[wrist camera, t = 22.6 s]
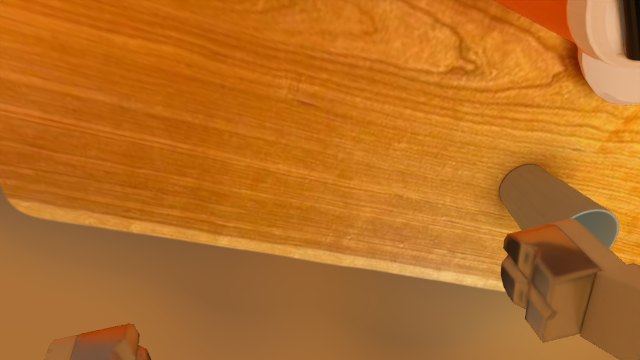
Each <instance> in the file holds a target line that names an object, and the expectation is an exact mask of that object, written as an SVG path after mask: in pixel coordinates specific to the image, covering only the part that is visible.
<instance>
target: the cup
mask: <svg viewBox="0 0 640 360" xmlns="http://www.w3.org/2000/svg"><path fill="white" fill-rule="evenodd" d="M499 193H500V198H501V200H502V202H503V203H504V205H505V206H506V208H507V209H508V211H509V212H510V214H511V215H512V217H513V218H514V219H515V221H516V222H517V224H518V225H519V227H520V228H521V230H526V229H530V228H534V227H538V226H542V225H546V224H550V223H554V222H558V221H562V220H566V219H570V218H572V219H575V220H577V221H579V222H580V223H581V224H582V225H583V226H584V227H585V228H587V229H588V230H589V231H590V232H591V233H592V234H593V235H594V236H595V237H596V238H598V239H599V240H600V241H601V242H602V243H603V244H604V245H605V246H606V247H608V248H609V249H610V248H611V247H612V246H613V244H614V242H615V240H616V238H617V236H618V232H619V222H618V219H617V217H616V216H615V215H614V214H613V213H612V212H610V211H609V210H607V209H606V208H604V207H603V206H601V205H599V204H598V203H596V202H594V201H593V200H591V199H590V198H588V197H586V196H585V195H583V194H582V193H580V192H579V191H577V190H575V189H574V188H572V187H571V186H569V185H568V184H566V183H564V182H563V181H561V180H560V179H558V178H556V177H555V176H553V175H552V174H550V173H549V172H547V171H545V170H544V169H542V168H541V167H539V166H536V165H530V164H529V165H523V166H520V167H518V168H516V169H514V170H513V171H511V172H510V173H509V174H508V175H507V176H506V177H505V179H504V180H503V182H502V184H501V186H500V191H499Z"/></svg>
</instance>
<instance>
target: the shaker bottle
mask: <svg viewBox="0 0 640 360" xmlns="http://www.w3.org/2000/svg"><path fill="white" fill-rule="evenodd" d="M494 1H496V2H498V3H500V4H501V5H503V6H505V7H507V8H509V9H511V10H513V11H515V12H517V13H518V14H520V15H522V16H524V17H526V18H528V19H530V20H532V21H533V22H535V23H537V24H539V25H541V26H543V27H545V28H547V29H549V30H550V31H552V32H554V33H556V34H558V35H560V36H562V37H564V38H565V39H567V40H569V41H571V42H573V43H575V44H576V46H577V47H578V48H579V49H580V50H581V51H582V52H583V53H584V54H586V55H588V56H590V57H592V58H594V59H598V60H600V61H603V62H605V63H607V64H609V65H611V66H614V67H617V68H623V69H639V68H640V0H494Z"/></svg>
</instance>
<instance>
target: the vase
mask: <svg viewBox="0 0 640 360" xmlns="http://www.w3.org/2000/svg"><path fill="white" fill-rule="evenodd" d="M578 60H579V64H580V68H581V72H582V75H583V76H584V78H585V79H586V81H587V82H588V84H589V85H590V86H591V88H592V89H593V91H594V92H595V94H596V95H598V96H600V97H601V98H603V99H604V100H606V101H608V102H609V103H614V104H619V105H624V106H627V105H636V104H640V68H639V69H623V68H617V67H614V66H611V65H609V64H607V63H605V62H603V61H600V60H598V59H594V58H592V57H590V56H588V55H586V54H584V53H583V52H582V51H581V50H580V49H579V48H578Z"/></svg>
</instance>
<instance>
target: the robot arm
mask: <svg viewBox="0 0 640 360" xmlns="http://www.w3.org/2000/svg"><path fill="white" fill-rule="evenodd" d="M503 248H504V249H505V251H506V252H507V253H508V256H507V257H506V258H505V259H504V261H503V262H502V264H501V277H502V282H503V286H504V288H505V290H506V292H507V294H508V296H509V297H510V299H511V300H512V301H513V303H514V304H517V305H518V306H520V307H522V308H524V309H526V315H525V319H526V321H527V322H528V323H529V325H530V326H531V327H532V329H533V330H534V331H535V333H536V334H537V335H538V337H539V338H540V340H541V341H542V342H548V341H552V340H556V339H560V338H564V337H569V336H573V335H577V334H580V336H581V337H583V338H584V339H586V340H588V341H589V342H591V343H593V344H594V345H596V346H598V347H599V348H601V349H603V350H604V351H606V352H608V353H609V354H611V355H613V356H614V357H616V358H618V359H619V360H640V266H639V265H636V264H634V263H633V264H628V265H626V264H625V263H624V262H623V261H622V260H621V259H620V258H619V257H618V256H616V255H615V254H614V253H613V252H612V251H611V250H610V249H609V248H608V247H606V246H605V245H604V244H603V243H602V242H601V241H600V240H599V239H598V238H596V237H595V236H594V235H593V234H592V233H591V232H590V231H589V230H588V229H587V228H585V227H584V226H583V225H582V224H581V223H580V222H579V221H577V220H575V219H572V218H570V219H566V220H562V221H558V222H554V223H550V224H546V225H542V226H538V227H534V228H530V229H526V230H522V231H518V232H514V233H510V234H507V236H506V238H505V239H504V247H503ZM138 343H139V333H138V331H137V329H136V328H135V326H134V324H125V325H121V326H115V327H111V328H106V329H102V330H96V331H92V332H87V333H82V334H80V335H75V336H71V337H66V338H61V339H56V340H54V341H53V342H52V344H51V345H50V346H49V348H48V351H47V354H46V357H45V360H151V358H150V356H149V353H148V351H147V349H145V348H143V347H141V346H139V345H138Z"/></svg>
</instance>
